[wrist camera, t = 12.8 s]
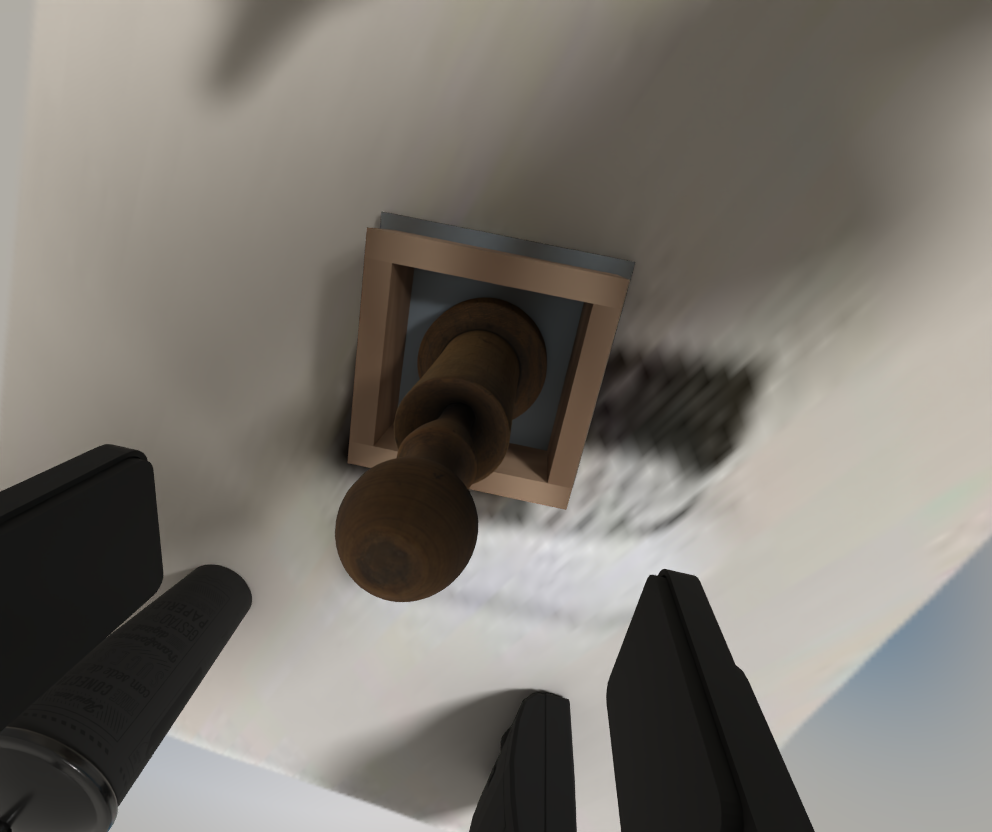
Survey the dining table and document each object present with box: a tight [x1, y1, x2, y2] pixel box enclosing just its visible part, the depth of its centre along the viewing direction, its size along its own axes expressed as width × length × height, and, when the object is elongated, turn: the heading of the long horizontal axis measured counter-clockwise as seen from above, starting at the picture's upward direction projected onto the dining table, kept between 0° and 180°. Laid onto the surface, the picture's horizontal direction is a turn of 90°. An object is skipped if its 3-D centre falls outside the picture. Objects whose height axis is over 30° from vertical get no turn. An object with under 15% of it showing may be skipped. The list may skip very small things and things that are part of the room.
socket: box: [348, 212, 635, 510], centre depth 24 cm, size 13×13×5 cm
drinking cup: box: [0, 565, 252, 832], centre depth 25 cm, size 8×8×20 cm
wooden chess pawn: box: [335, 298, 547, 602], centre depth 17 cm, size 7×6×18 cm
